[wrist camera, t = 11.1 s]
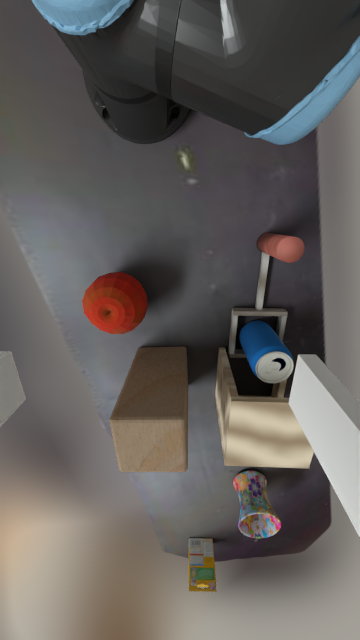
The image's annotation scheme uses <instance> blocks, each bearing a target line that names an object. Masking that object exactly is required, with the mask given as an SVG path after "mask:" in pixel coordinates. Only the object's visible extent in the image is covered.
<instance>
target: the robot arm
mask: <svg viewBox="0 0 360 640" xmlns="http://www.w3.org/2000/svg"><path fill="white" fill-rule="evenodd" d="M32 2H33V3H34V5H35V6H36V8H37V9H38V11H39V12H40V13H41V14H42V15H43V17H44V19H47V20H48V21H49V23H50V24H51V25H52V27H53V28H54V29H55V31H56V32H57V34H58V35H59V36H60V38H61V39H62V41H63V42H64V44H65V45H66V46H67V48H68V49H69V51H70V52H71V53H72V55H73V56H74V58H75V59H76V60H77V62H78V63H79V65H80V66H81V67H82V69H83V76H84V81H85V85H86V88H87V92H88V94H89V97H90V99H91V101H92V104H93V106H94V107H95V109H96V111H97V112H98V114H99V115H100V117H101V118H102V119H103V121H104V122H105V123H106V124H107V125H108V126H109V127H110V128H111V129H112V130H113V131H114V132H115V133H116V134H118V135H119V136H120V137H122V138H124V139H126V140H128V141H131V142H134V143H139V144H150V143H155V142H159V141H161V140H163V139H165V138H167V137H169V136H170V135H171V134H173V133H174V132H175V131H176V130H177V129H178V128H179V127H180V126H181V124H182V123H183V122H184V120H185V118H186V117H187V115H188V113H189V111H190V109H193V110H195V111H197V112H200V113H202V114H204V115H206V116H209V117H211V118H213V119H216V120H218V121H220V122H223V123H225V124H227V125H230V126H232V127H234V128H237V129H239V130H241V131H243V132H244V133H245V134H246V135H247V136H248V137H251V138H252V137H253V138H261V139H264V140H266V141H269V142H272V143H274V144H278V145H283V144H290V143H294V142H296V141H298V140H300V139H301V138H303V137H304V136H306V135H307V134H308V133H310V132H311V131H312V130H313V129H314V128H316V127H317V126H318V125H319V124H320V123H321V122H322V121H323V120H324V119H325V118H326V117H327V116H328V115H329V114H330V112H331V111H332V110H333V109H334V108H335V107H336V106H337V105H338V103H339V102H340V101H341V100H342V99H343V97H344V96H345V95H346V94H347V92H348V91H349V90H350V89H351V87H352V86H353V85H354V83H355V82H356V81H357V79H358V78H359V76H360V0H32ZM24 400H26V397H25V394H24V391H23V388H22V385H21V381H20V378H19V375H18V372H17V368H16V365H15V362H14V359H13V356H12V353H11V352H10V351H6V352H5V351H0V427H1V426H2V425H3V424H4V423H5V421H6V420H7V419H8V418H9V417H10V416H11V415H12V414H13V413H14V412H15V411H16V409H17V408H18V407H19V406H20V405H21V404H22V403H23V402H24ZM288 404H289V406H290V407H291V409H292V411H293V413H294V415H295V417H296V419H297V421H298V422H299V424H300V426H301V428H302V430H303V432H304V434H305V436H306V437H307V439H308V441H309V443H310V445H311V447H312V449H313V451H314V452H315V454H316V456H317V458H318V460H319V462H320V464H321V466H322V467H323V469H324V471H325V473H326V475H327V477H328V479H329V481H330V482H331V484H332V486H333V488H334V490H335V492H336V494H337V496H338V497H339V499H340V501H341V503H342V505H343V507H344V509H345V511H346V513H347V514H348V516H349V518H350V520H351V522H352V524H353V526H354V528H355V529H356V531H357V533H358V535H359V537H360V402H359V400H357V398H356V397H355V396H354V395H353V394H352V393H351V392H350V391H349V390H348V389H347V388H346V386H345V385H344V384H343V383H342V382H341V381H340V380H339V379H338V378H337V377H336V376H335V375H334V374H333V372H332V371H331V370H330V369H329V368H328V367H327V366H326V365H325V364H324V363H323V362H322V361H321V359H320V358H319V357H318V356H317V355H313V354H298V358H297V363H296V368H295V373H294V378H293V383H292V388H291V393H290V398H289V403H288Z"/></svg>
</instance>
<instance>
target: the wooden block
mask: <svg viewBox="0 0 360 640" xmlns="http://www.w3.org/2000/svg"><path fill="white" fill-rule="evenodd" d="M110 425H111V430H112V435H113V440H114V445H115V450H116V455H117V460H118V465H119V470H120V471H122V472H185V471H186V470H187V468H188V370H187V349H186V347H142V348H138V350H137V353H136V355H135V358H134V360H133V363H132V365H131V368H130V370H129V373H128V375H127V378H126V380H125V383H124V385H123V388H122V390H121V393H120V395H119V398H118V400H117V403H116V405H115V408H114V410H113V413H112V415H111V418H110Z"/></svg>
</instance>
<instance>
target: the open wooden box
mask: <svg viewBox="0 0 360 640" xmlns="http://www.w3.org/2000/svg"><path fill="white" fill-rule="evenodd" d="M286 382H287V379H285V380H284V381H281V382H279V383H274V384H273V389H272V395H271V396H253V395H238V392H237V389H236V385H235V382H234V378H233V375H232V371H231V368H230V364H229V360H228V357H227V353H226V350H225V347H219V353H218V367H217V381H216V394H215V401H216V408H217V415H218V422H219V429H220V435H221V442H222V449H223V456H224V463H225V465H226V466H254V467H283V468H309V466H310V463H311V459H312V456H313V452H314V451H313V449H312V447H311V445H310V443H309V441H308V439H307V437H306V436H305V434H304V432H303V430H302V428H301V426H300V424H299V422H298V421H297V419H296V417H295V415H294V413H293V411H292V409H291V407H290V406H289V404H288V403H289V398H283V397H284V392H285V387H286Z"/></svg>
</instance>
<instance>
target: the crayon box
mask: <svg viewBox="0 0 360 640" xmlns="http://www.w3.org/2000/svg"><path fill="white" fill-rule="evenodd" d="M197 587H208V588H204V589H201V588H197ZM189 591H197V592H199V591H203V592H204V591H205V592H216V578H215V565H214V551H213V539H212V538H189Z"/></svg>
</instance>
